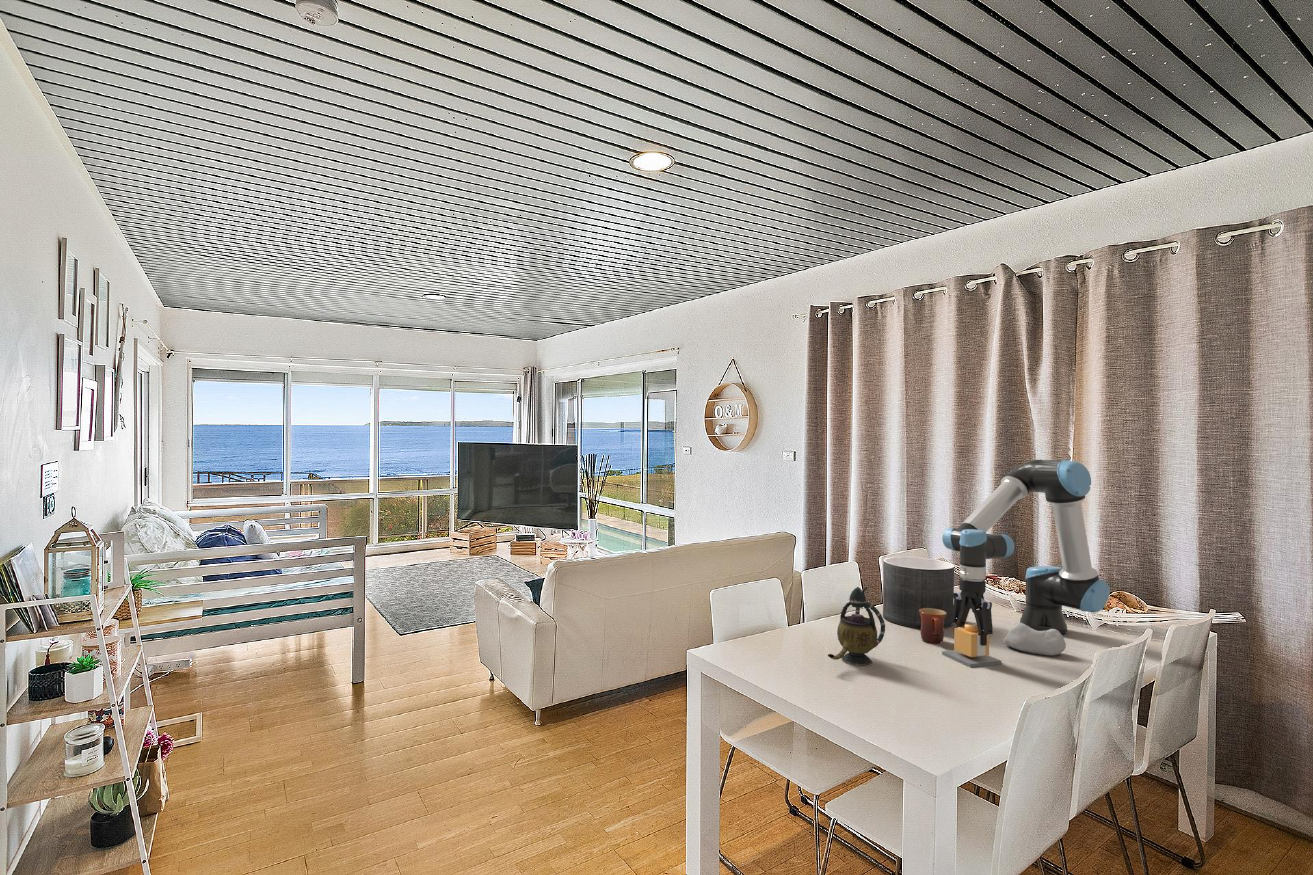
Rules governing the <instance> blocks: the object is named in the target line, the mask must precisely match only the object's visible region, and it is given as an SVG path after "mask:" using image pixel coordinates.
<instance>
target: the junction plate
mask: <svg viewBox="0 0 1313 875" xmlns="http://www.w3.org/2000/svg"><path fill="white" fill-rule="evenodd" d="M941 655H942V656H944V657H946V658H949V659H951V660H952V661H953V660H954V661H955V662H958V663H960V664H962V665H964V666H965V667H966V666H967V667H969V668H976V667H984V666H985V667H986V666H992V665H993V666H994V665H1002V662H1003V661H1002V660H1001V659H1000V658H999V659H998V658H996V657H995V656H994V657H993V656H992V655H990V654H989V655H985V656H976V657H970V656H967V655H965V654H963V653H960V652H958V651H956V650H954V649H953V650H944V651H942V650H941Z"/></svg>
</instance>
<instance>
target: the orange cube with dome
mask: <svg viewBox="0 0 1313 875" xmlns="http://www.w3.org/2000/svg"><path fill="white" fill-rule="evenodd" d="M953 632H954V633H953V635H954V637H953V638H954V641H953V642H954V643H953V644H954V645H953V646H954V647H953V648H954V649H953V650H956V651H958V652H960V653H963V654H965V655H967V656H970V657H976V656H977V634H978V633H979V631H978V627H977V623H965V626H963V627H961V628H957V627H955V628H954V631H953ZM985 655H989V656H990V635H987V645H986V646H985ZM985 655H982V656H985Z"/></svg>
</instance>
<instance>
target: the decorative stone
mask: <svg viewBox="0 0 1313 875" xmlns="http://www.w3.org/2000/svg"><path fill="white" fill-rule="evenodd" d="M1003 641H1004V642H1003V643H1004V644H1005V645H1007V646H1008V647H1009V648H1012V649H1014V650H1018V651H1021V652H1026V653H1029V654H1034V655H1035V654H1036V655H1042V656H1043V655H1044V656H1056V655H1059V654H1061V653H1063V652H1064V651H1065V650H1066V648H1067V643H1066V641H1065V638H1064V636H1063V634H1062V635H1061V633H1060V632H1059V631H1058V630H1056V629H1050V630H1047V631H1036V630H1034V629H1032V628H1030V627H1028V626H1027V625H1025V624H1023V623H1020V622H1018V623H1015V624H1014V626H1012V627H1011V628H1010V629H1009V631H1008V633H1007V634H1006V635H1005V637H1004V638H1003Z"/></svg>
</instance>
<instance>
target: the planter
mask: <svg viewBox="0 0 1313 875" xmlns="http://www.w3.org/2000/svg"><path fill="white" fill-rule="evenodd" d="M882 564H883V565H882V566H883V567H882V570H883V571H882V572H883V573H882V582H883V583H882V618H883V619H885V620H886V621H887V622H891V623H892V624H896V625H899V626H902V627H903V626H904V627H909V628H915V629H921V616H920V613H919V609H922V608H932V609H938V610H942V611H945V612H946V613H947V614H946V617H945V620H944V629H947V628H950V627H952V626H953V624H954V623H953V622H952V614H953V605H954V596H953V594H954V593H955V565H954V563H950V562H947V561H945V560H939V559H934V558H927V557H917V556H892V557H886V558H884V559H883V560H882Z"/></svg>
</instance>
